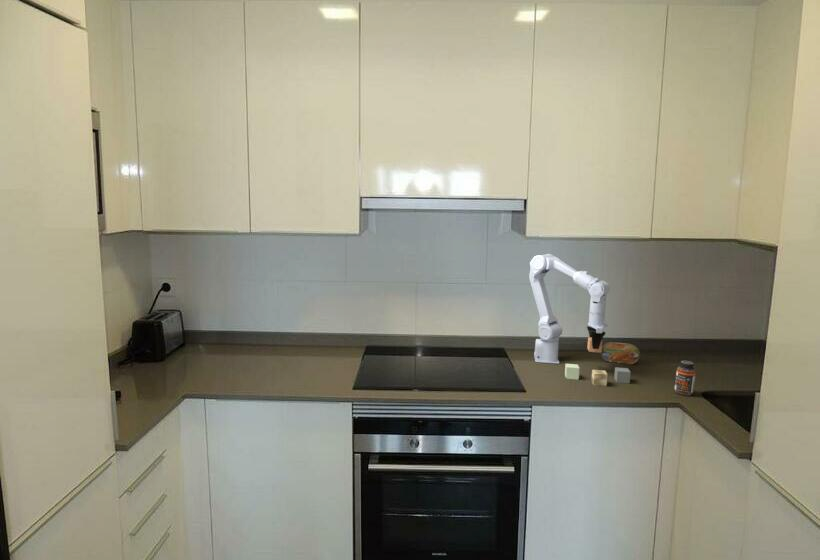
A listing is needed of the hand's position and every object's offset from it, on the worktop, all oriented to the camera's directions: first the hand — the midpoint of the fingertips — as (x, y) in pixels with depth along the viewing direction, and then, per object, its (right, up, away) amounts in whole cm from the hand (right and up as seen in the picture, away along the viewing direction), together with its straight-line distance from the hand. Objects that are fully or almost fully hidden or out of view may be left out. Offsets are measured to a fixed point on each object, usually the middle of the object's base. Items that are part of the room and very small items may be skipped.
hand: (594, 346), depth 206 cm
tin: (+15, -9, +14) cm, 22 cm away
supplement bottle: (+24, -14, -20) cm, 34 cm away
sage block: (-11, -11, -6) cm, 16 cm away
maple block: (-3, -12, -12) cm, 17 cm away
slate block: (+7, -12, -9) cm, 16 cm away
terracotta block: (0, -1, 0) cm, 1 cm away
